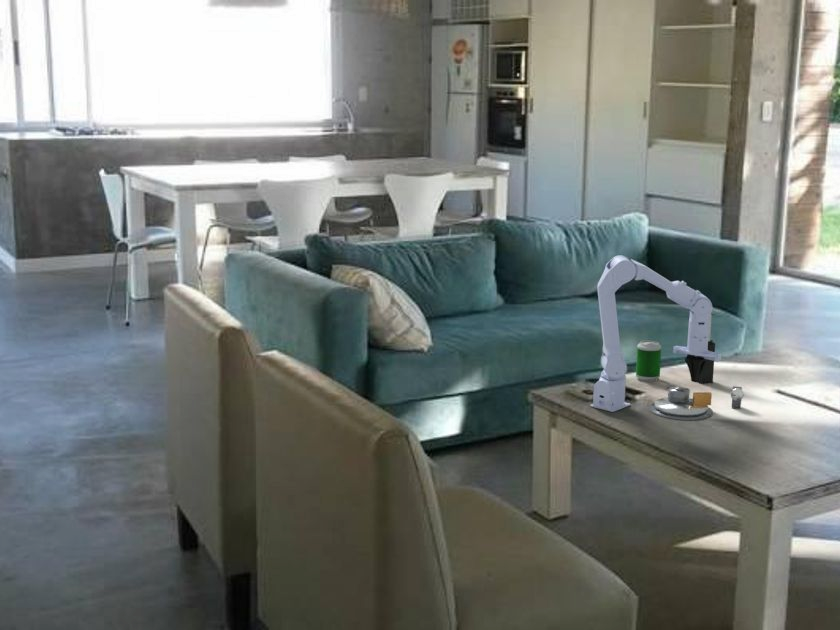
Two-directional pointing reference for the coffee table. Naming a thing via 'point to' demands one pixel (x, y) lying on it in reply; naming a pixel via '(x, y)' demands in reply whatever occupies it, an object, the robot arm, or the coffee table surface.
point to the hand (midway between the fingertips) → (695, 380)
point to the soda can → (648, 361)
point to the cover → (678, 395)
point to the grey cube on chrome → (737, 397)
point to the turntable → (686, 405)
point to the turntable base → (654, 411)
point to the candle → (709, 366)
